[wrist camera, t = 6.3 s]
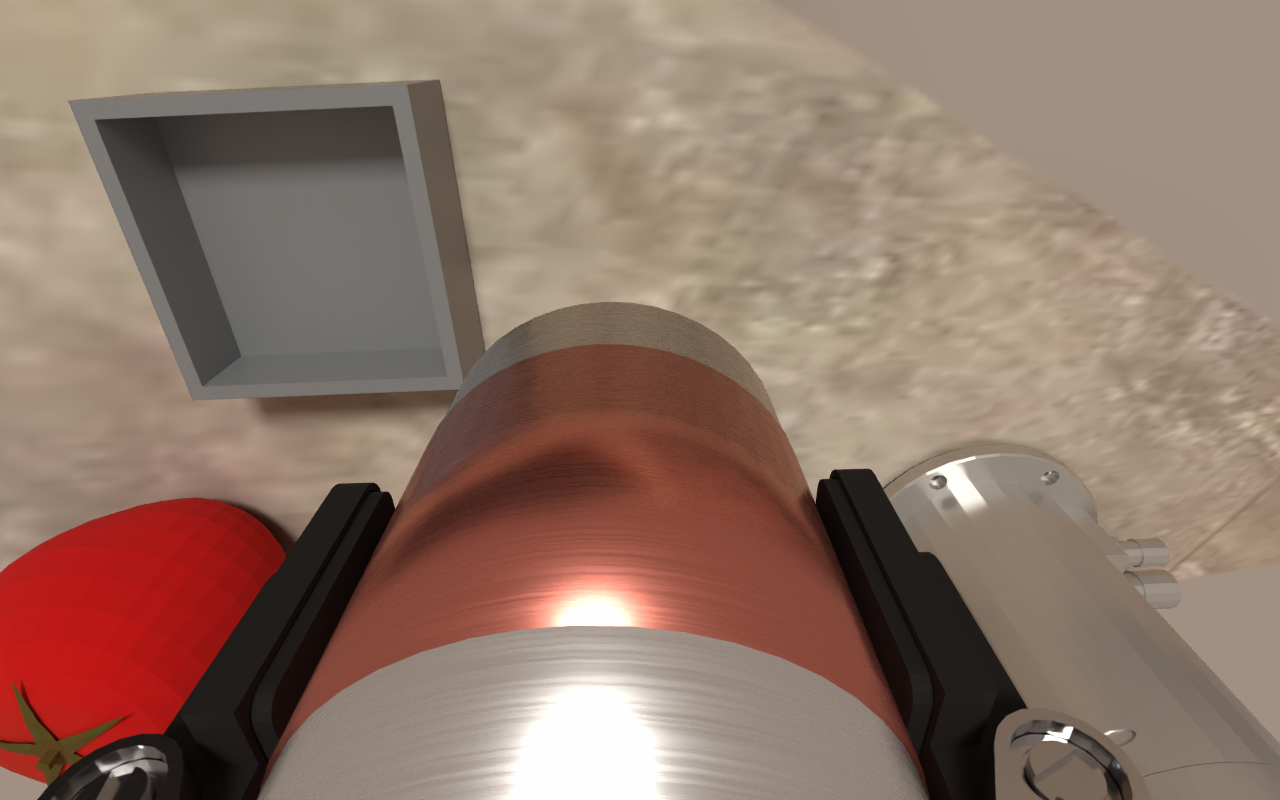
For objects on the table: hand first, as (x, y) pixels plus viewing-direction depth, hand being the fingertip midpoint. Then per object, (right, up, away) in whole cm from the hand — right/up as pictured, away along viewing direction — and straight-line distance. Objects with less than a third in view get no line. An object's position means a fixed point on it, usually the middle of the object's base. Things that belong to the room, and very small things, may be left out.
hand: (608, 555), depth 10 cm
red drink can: (0, +1, +2) cm, 3 cm away
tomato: (-22, -5, +25) cm, 34 cm away
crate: (-12, +9, +17) cm, 23 cm away
